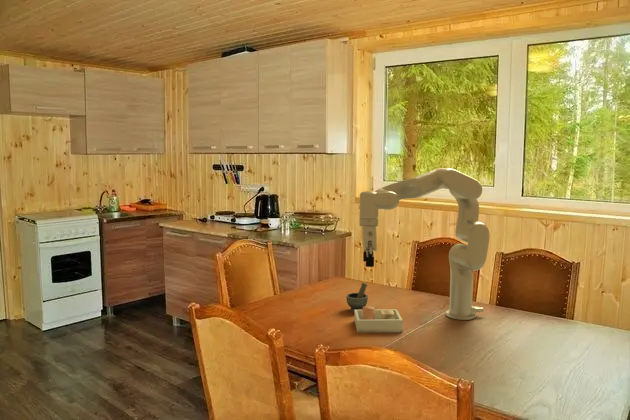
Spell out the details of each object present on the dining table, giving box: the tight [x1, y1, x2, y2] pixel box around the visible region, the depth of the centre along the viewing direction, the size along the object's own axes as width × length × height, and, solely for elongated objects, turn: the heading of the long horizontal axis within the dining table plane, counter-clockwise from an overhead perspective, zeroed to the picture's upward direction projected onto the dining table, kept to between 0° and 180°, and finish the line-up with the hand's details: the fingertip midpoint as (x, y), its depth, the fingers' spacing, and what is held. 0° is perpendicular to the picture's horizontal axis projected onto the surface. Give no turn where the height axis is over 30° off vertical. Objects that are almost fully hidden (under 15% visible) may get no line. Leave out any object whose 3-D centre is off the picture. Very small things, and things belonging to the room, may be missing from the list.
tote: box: [353, 308, 404, 334], centre depth 213 cm, size 18×14×5 cm
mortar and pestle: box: [346, 282, 369, 313], centre depth 234 cm, size 11×9×12 cm
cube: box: [381, 310, 395, 319], centre depth 213 cm, size 5×5×5 cm
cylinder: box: [363, 305, 376, 320], centre depth 212 cm, size 5×5×7 cm
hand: (368, 263), depth 210 cm, fingers open, 9 cm apart
